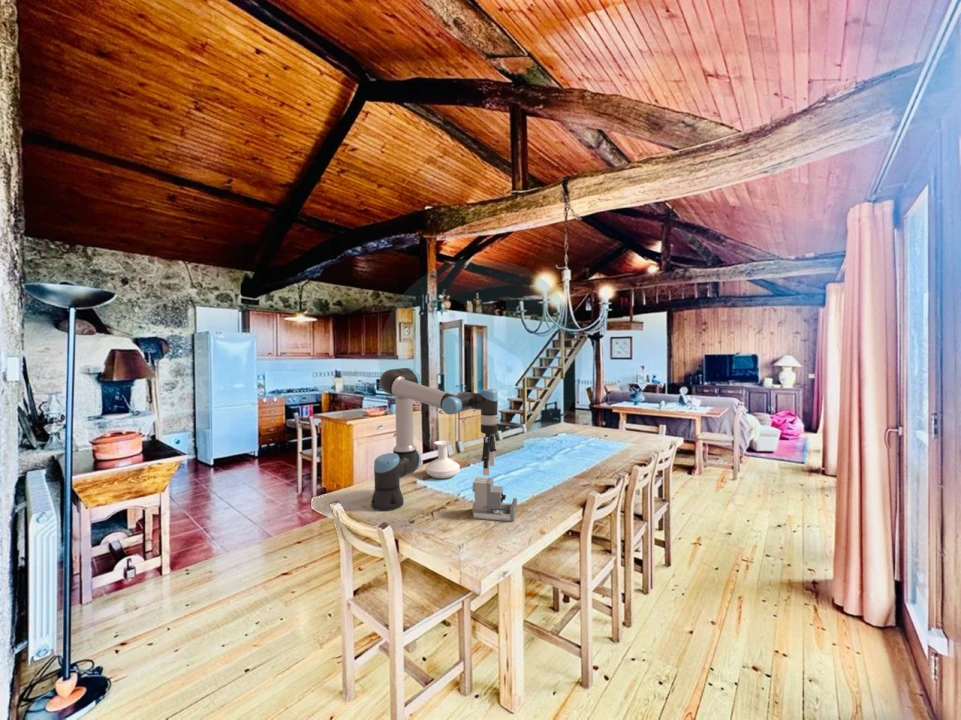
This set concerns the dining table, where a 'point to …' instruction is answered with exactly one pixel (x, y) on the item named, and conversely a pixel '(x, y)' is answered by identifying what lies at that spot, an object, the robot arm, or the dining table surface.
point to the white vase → (442, 463)
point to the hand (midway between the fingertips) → (488, 470)
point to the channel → (500, 516)
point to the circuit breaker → (487, 495)
